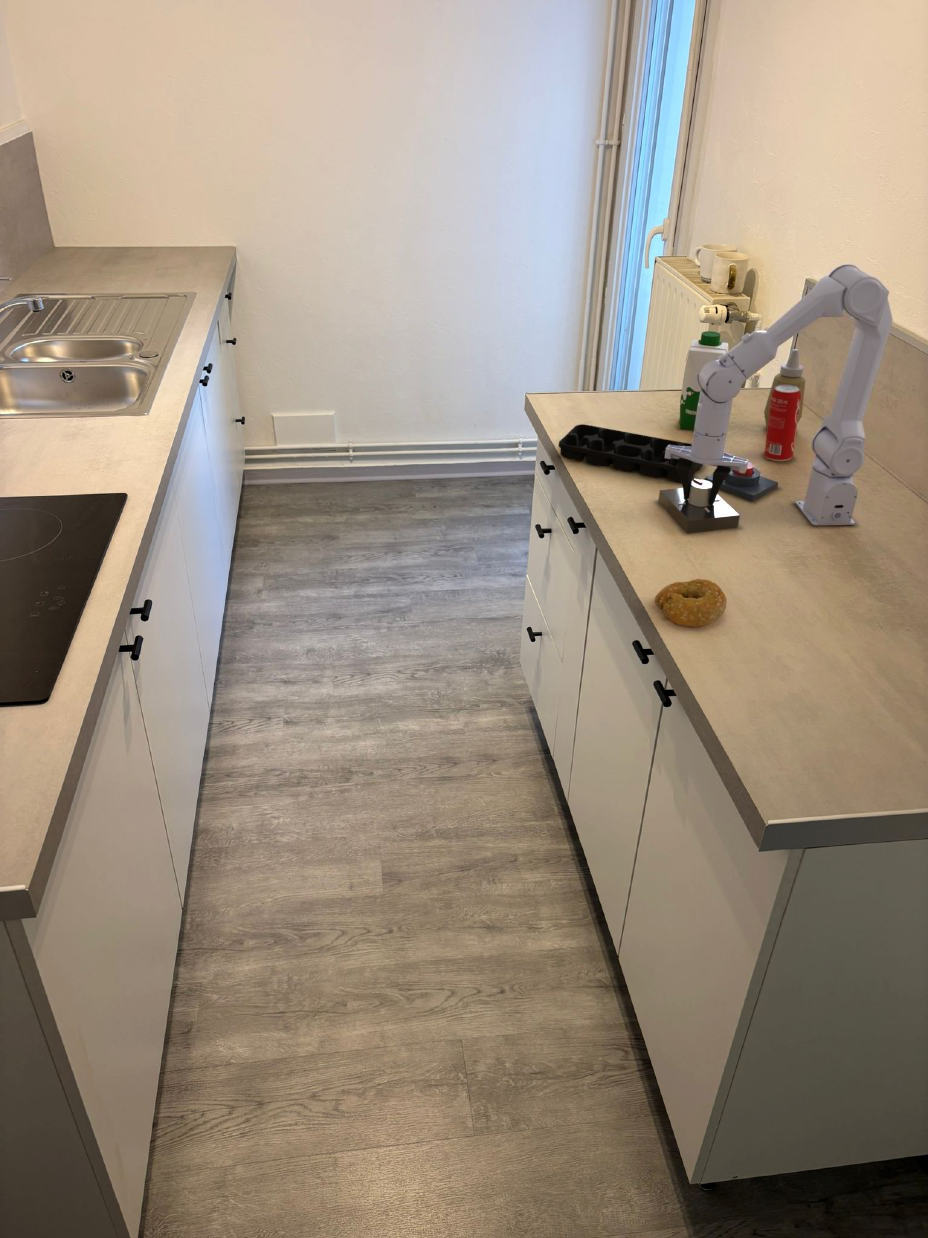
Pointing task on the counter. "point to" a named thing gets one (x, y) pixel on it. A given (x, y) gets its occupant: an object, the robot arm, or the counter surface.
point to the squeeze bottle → (788, 381)
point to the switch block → (746, 485)
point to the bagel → (692, 602)
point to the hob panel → (698, 512)
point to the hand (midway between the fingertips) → (699, 500)
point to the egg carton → (622, 451)
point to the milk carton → (697, 358)
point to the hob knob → (699, 493)
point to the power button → (748, 471)
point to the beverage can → (782, 422)
